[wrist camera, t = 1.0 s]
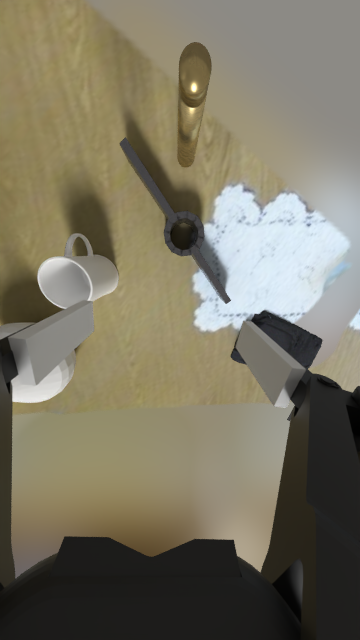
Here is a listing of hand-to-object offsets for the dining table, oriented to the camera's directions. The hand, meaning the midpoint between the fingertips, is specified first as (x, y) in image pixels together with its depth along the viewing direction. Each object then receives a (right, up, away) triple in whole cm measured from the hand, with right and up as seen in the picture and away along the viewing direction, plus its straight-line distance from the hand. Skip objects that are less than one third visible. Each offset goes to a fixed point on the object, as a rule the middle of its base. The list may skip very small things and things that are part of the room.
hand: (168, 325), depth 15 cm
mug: (-16, +12, +21) cm, 29 cm away
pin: (+2, +29, +15) cm, 33 cm away
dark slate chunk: (+26, -7, +30) cm, 41 cm away
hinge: (+2, +17, +19) cm, 26 cm away
